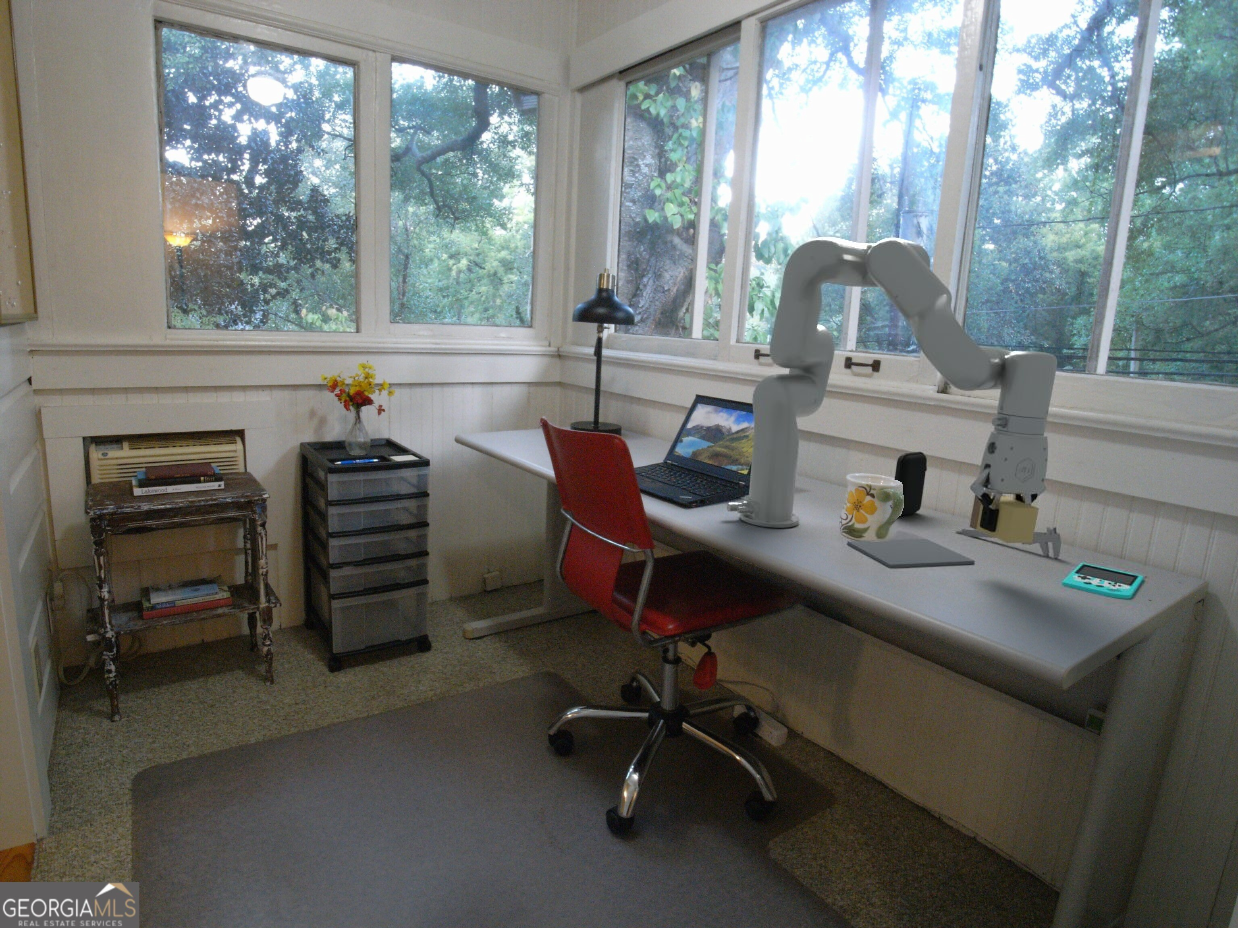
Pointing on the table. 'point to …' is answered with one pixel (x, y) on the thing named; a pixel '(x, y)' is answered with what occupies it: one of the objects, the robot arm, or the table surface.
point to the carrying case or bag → (911, 479)
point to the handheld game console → (1103, 581)
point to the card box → (1009, 520)
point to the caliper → (1037, 538)
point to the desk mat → (910, 553)
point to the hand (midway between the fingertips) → (1001, 528)
